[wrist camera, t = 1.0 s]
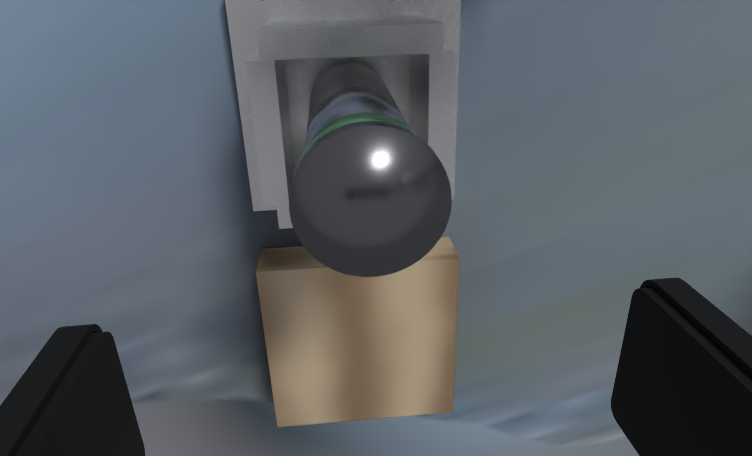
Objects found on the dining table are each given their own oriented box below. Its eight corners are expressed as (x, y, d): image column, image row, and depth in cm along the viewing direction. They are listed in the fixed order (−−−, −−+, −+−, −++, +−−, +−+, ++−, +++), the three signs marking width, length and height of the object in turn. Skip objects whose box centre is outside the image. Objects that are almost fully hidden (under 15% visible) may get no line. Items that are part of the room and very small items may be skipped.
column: (394, 55, 29) (454, 121, 16) (395, 146, 31) (449, 271, 18) (300, 59, 29) (280, 130, 15) (308, 150, 31) (296, 282, 17)
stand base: (457, -19, 29) (495, -18, 22) (450, 193, 34) (479, 243, 27) (226, -12, 28) (198, -8, 21) (255, 204, 33) (239, 259, 26)
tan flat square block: (448, 236, 35) (459, 258, 32) (444, 382, 40) (452, 411, 37) (257, 248, 34) (252, 272, 31) (277, 396, 39) (274, 427, 36)
